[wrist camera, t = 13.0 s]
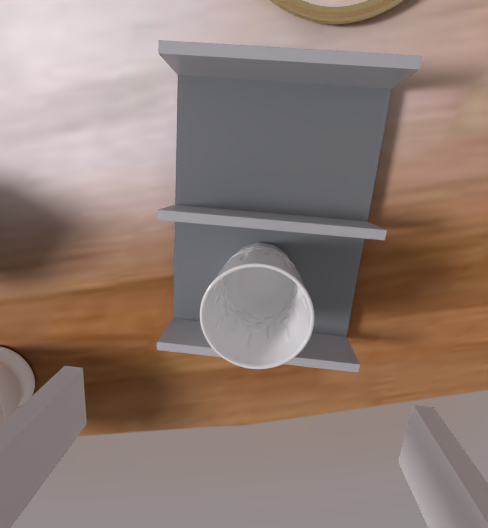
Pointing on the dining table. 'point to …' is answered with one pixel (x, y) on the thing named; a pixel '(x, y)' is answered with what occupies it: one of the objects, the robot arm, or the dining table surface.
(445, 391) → the dining table surface
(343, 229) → the dish rack
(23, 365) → the jar
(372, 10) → the brass oval ring
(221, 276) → the white cup
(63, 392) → the robot arm
